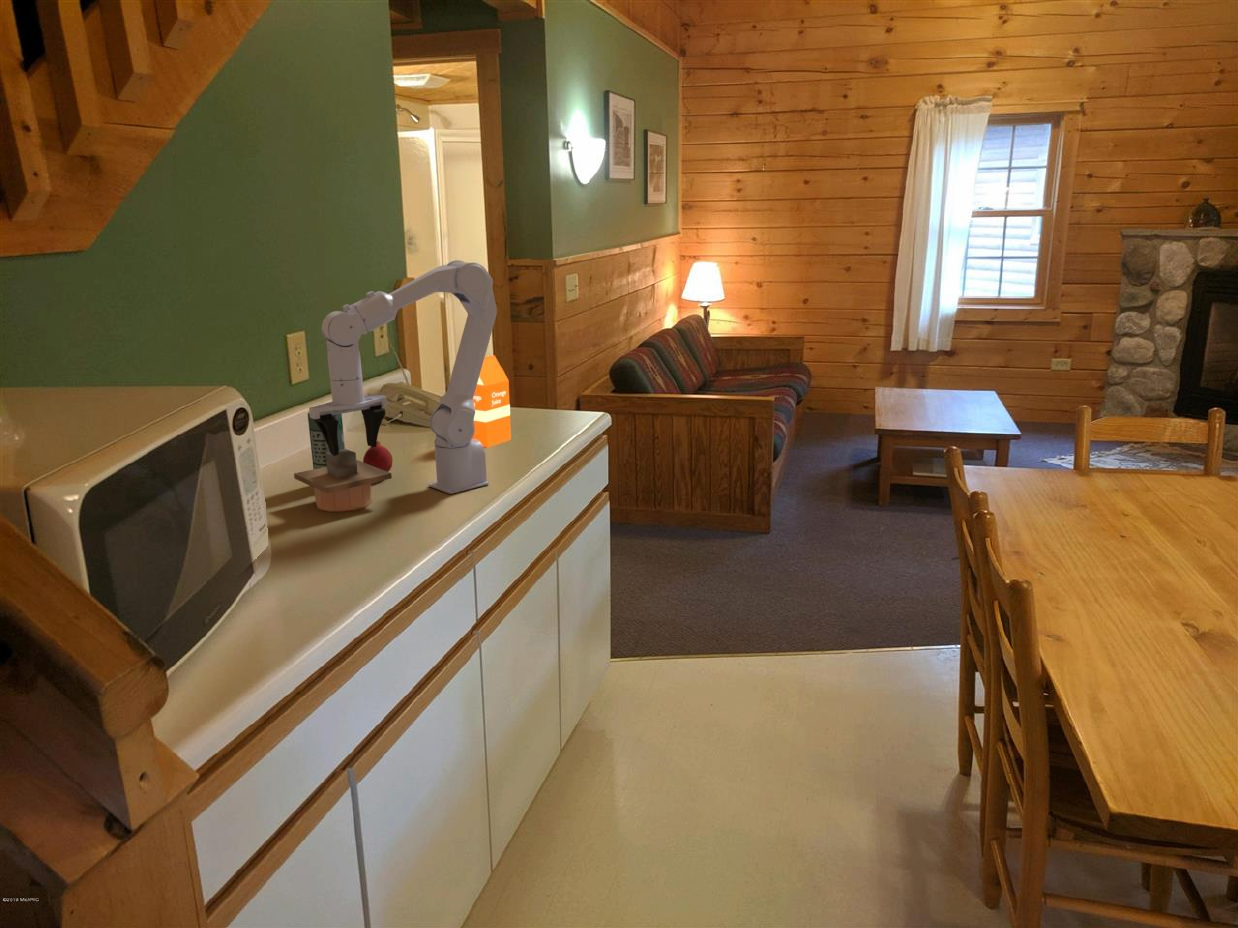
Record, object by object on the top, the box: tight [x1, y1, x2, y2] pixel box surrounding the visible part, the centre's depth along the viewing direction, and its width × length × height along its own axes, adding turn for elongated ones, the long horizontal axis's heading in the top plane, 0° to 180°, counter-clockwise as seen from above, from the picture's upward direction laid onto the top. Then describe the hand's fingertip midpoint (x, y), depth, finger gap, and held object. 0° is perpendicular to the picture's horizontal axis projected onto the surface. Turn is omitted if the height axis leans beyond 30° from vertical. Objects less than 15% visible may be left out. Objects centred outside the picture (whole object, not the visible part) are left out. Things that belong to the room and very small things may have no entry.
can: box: [307, 411, 346, 470], centre depth 184 cm, size 6×6×15 cm
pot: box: [313, 483, 373, 513], centre depth 174 cm, size 10×10×5 cm
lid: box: [293, 448, 393, 493], centre depth 172 cm, size 13×13×5 cm
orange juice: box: [472, 355, 512, 448], centre depth 216 cm, size 8×9×20 cm
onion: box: [362, 440, 394, 472], centre depth 189 cm, size 6×6×8 cm
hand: (353, 450), depth 172 cm, fingers open, 7 cm apart
